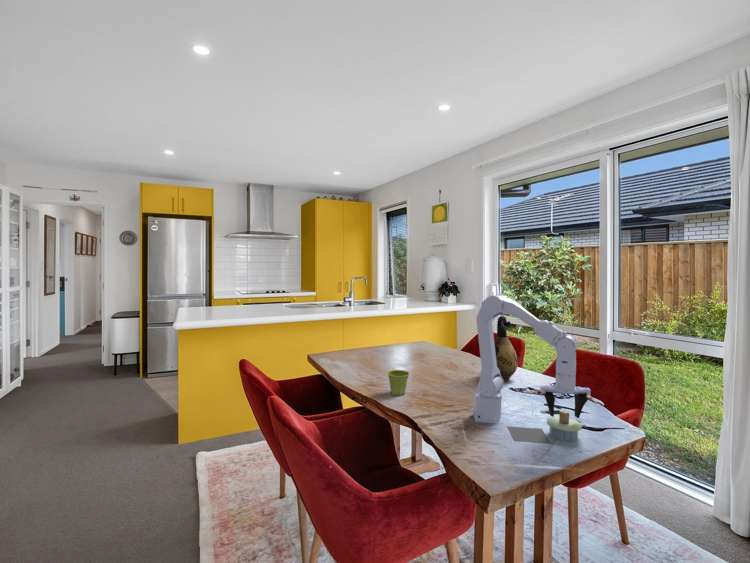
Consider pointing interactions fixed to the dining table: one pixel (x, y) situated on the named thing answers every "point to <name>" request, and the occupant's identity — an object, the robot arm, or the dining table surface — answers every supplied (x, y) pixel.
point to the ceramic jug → (505, 350)
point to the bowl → (563, 434)
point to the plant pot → (398, 381)
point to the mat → (528, 434)
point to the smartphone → (558, 414)
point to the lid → (564, 422)
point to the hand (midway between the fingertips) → (564, 416)
